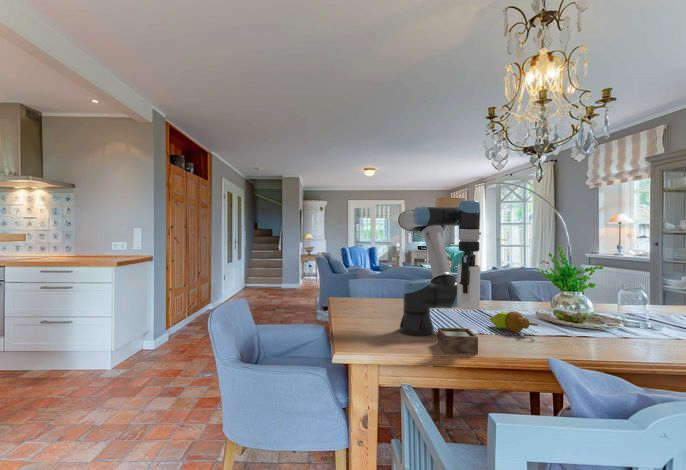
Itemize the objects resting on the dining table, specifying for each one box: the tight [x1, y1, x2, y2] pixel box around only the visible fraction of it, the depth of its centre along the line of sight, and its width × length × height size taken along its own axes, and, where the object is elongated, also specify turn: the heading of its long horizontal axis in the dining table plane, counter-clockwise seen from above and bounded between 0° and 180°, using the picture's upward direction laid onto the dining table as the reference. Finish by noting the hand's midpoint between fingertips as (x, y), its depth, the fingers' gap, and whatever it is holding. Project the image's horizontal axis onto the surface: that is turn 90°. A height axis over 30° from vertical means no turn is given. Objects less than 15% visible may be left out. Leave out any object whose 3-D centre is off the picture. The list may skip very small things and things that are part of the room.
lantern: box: [489, 311, 539, 333], centre depth 154 cm, size 9×9×25 cm
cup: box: [456, 263, 481, 310], centre depth 131 cm, size 8×8×16 cm
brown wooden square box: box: [437, 327, 479, 355], centre depth 130 cm, size 12×12×6 cm
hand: (468, 299), depth 131 cm, fingers closed on cup, 8 cm apart
